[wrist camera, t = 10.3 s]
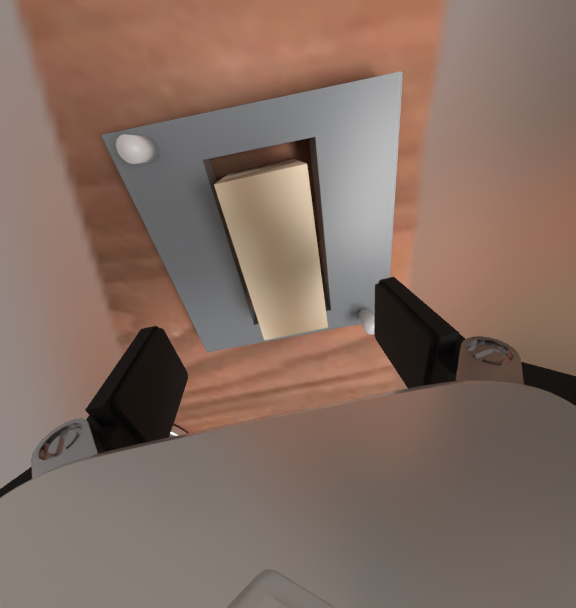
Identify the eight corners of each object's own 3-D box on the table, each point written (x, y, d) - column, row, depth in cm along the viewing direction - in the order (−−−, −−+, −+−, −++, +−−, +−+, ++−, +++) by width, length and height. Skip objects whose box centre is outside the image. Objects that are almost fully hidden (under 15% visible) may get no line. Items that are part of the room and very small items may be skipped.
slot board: (376, 303, 23) (397, 333, 20) (211, 334, 24) (201, 369, 20) (382, 82, 15) (424, 59, 11) (123, 136, 15) (76, 133, 11)
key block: (294, 158, 16) (307, 163, 11) (313, 286, 22) (328, 327, 17) (229, 173, 17) (214, 184, 12) (264, 296, 22) (264, 340, 17)
